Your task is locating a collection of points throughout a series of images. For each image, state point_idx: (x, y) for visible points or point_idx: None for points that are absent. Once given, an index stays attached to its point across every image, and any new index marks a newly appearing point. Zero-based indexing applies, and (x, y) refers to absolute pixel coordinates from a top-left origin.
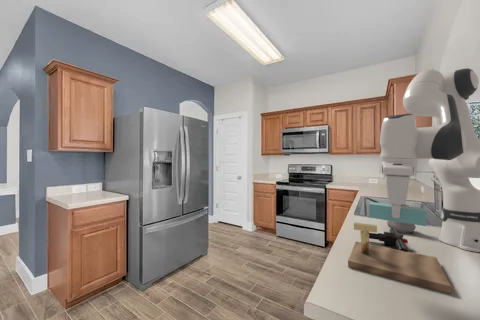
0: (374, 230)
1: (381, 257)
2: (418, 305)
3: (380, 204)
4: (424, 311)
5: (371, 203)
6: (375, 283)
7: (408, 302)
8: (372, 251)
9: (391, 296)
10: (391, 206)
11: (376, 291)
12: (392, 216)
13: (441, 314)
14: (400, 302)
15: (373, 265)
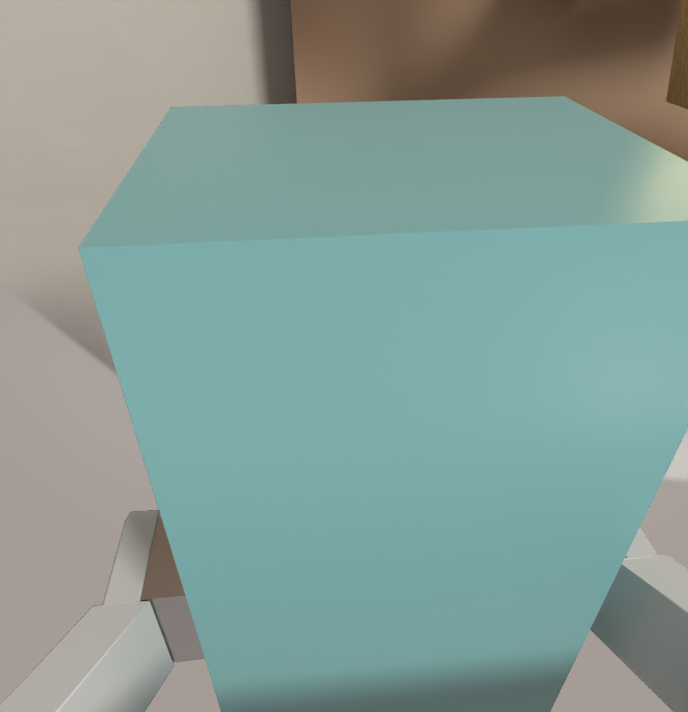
0: (683, 72)
1: (530, 95)
2: (85, 279)
3: (362, 497)
4: (52, 297)
5: (338, 288)
6: (144, 69)
7: (73, 242)
8: (646, 8)
9: (58, 167)
10: (259, 650)
11: (38, 84)
12: (131, 517)
13: (90, 347)
14: (35, 209)
15: (322, 46)
